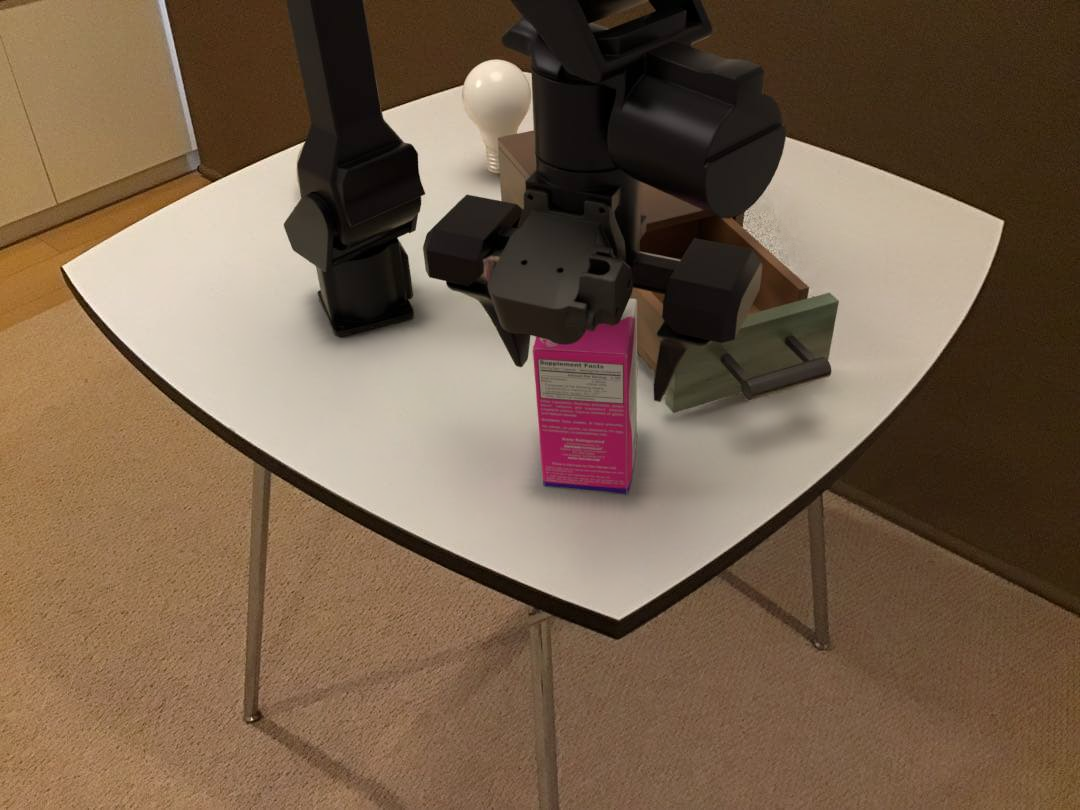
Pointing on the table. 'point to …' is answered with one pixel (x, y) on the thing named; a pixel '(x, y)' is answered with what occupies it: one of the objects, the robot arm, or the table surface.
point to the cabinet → (654, 203)
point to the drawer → (764, 338)
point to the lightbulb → (496, 103)
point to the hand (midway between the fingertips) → (589, 379)
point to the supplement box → (589, 407)
